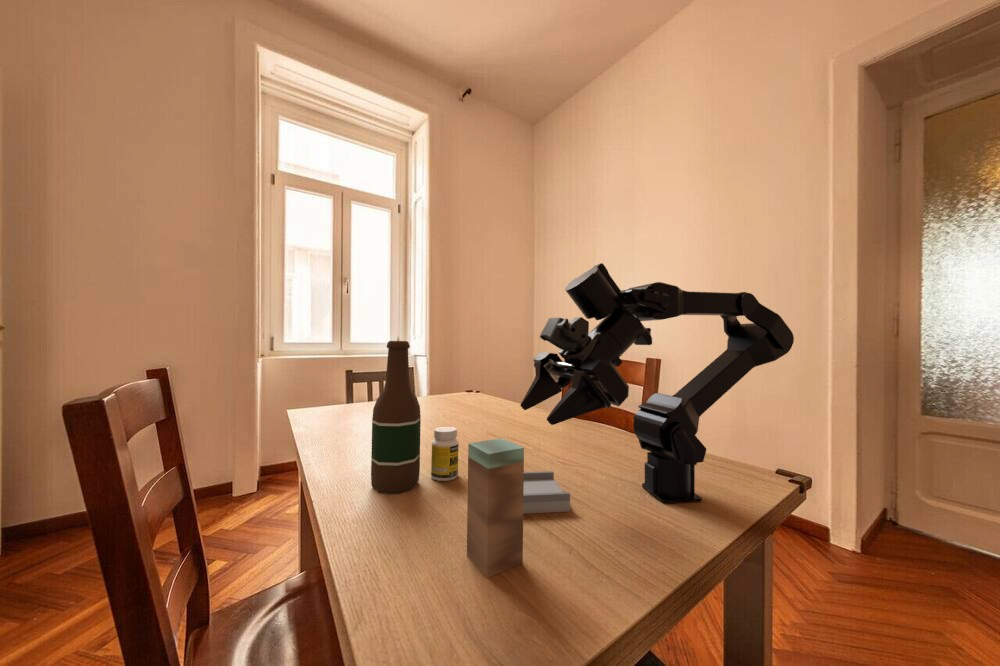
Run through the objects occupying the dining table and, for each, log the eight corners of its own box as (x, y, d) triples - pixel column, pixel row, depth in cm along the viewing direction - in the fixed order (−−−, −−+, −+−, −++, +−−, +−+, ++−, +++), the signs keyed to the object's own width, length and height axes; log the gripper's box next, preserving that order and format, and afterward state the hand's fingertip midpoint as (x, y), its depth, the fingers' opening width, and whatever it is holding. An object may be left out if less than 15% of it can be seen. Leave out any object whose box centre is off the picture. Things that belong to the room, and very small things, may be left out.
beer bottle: (417, 474, 65) (419, 341, 65) (421, 491, 57) (424, 341, 58) (371, 479, 62) (374, 340, 63) (370, 497, 55) (373, 340, 55)
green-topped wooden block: (500, 543, 43) (501, 438, 43) (522, 563, 39) (524, 447, 39) (466, 555, 40) (468, 443, 41) (486, 577, 37) (488, 454, 37)
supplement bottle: (452, 483, 61) (453, 433, 61) (426, 480, 62) (427, 431, 62) (461, 473, 66) (462, 426, 66) (437, 470, 67) (437, 425, 67)
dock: (552, 486, 60) (552, 471, 60) (569, 511, 51) (570, 493, 51) (480, 489, 59) (481, 473, 59) (486, 515, 50) (486, 497, 50)
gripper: (548, 305, 62) (481, 366, 58) (616, 295, 44) (525, 381, 40) (584, 354, 64) (522, 415, 60) (663, 362, 46) (581, 450, 43)
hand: (534, 414), depth 51 cm, fingers open, 9 cm apart
